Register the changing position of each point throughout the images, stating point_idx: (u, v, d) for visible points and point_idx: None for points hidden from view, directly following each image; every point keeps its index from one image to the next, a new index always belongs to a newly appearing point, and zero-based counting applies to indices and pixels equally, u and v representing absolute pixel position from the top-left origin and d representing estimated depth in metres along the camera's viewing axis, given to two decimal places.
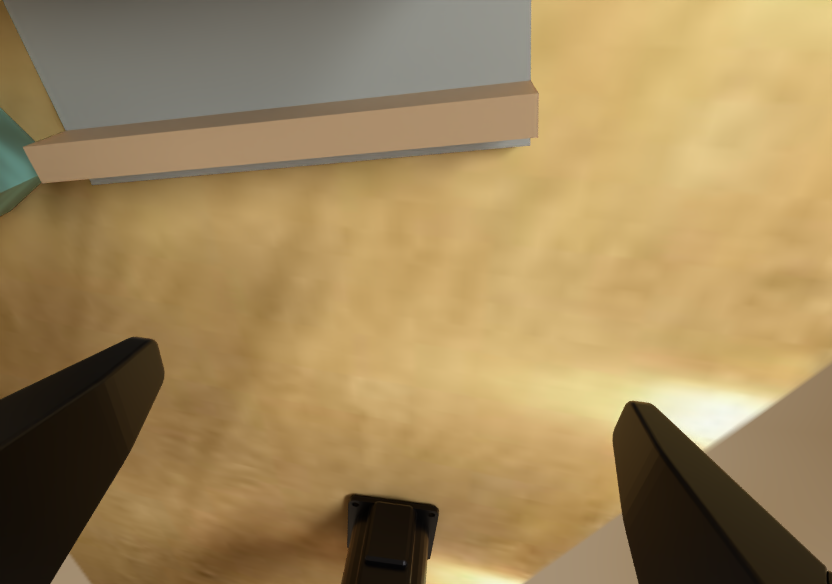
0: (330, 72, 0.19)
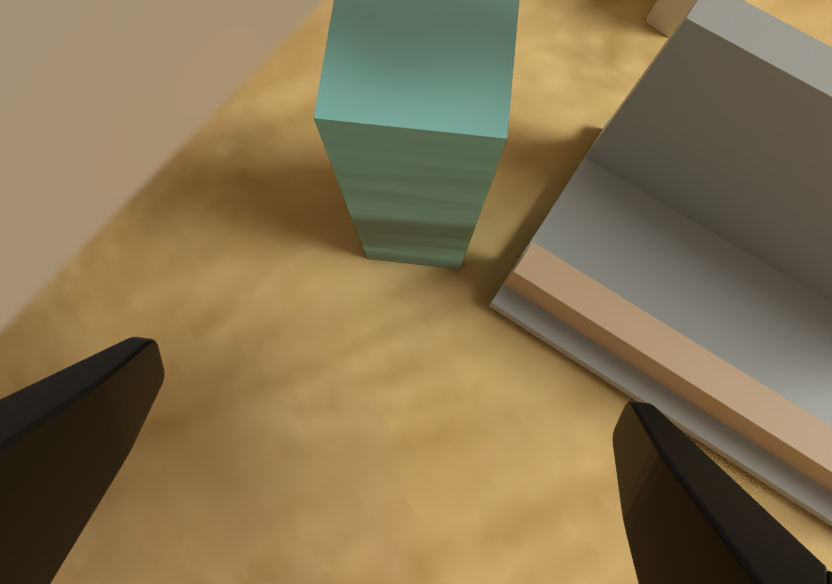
0: (773, 388, 0.21)
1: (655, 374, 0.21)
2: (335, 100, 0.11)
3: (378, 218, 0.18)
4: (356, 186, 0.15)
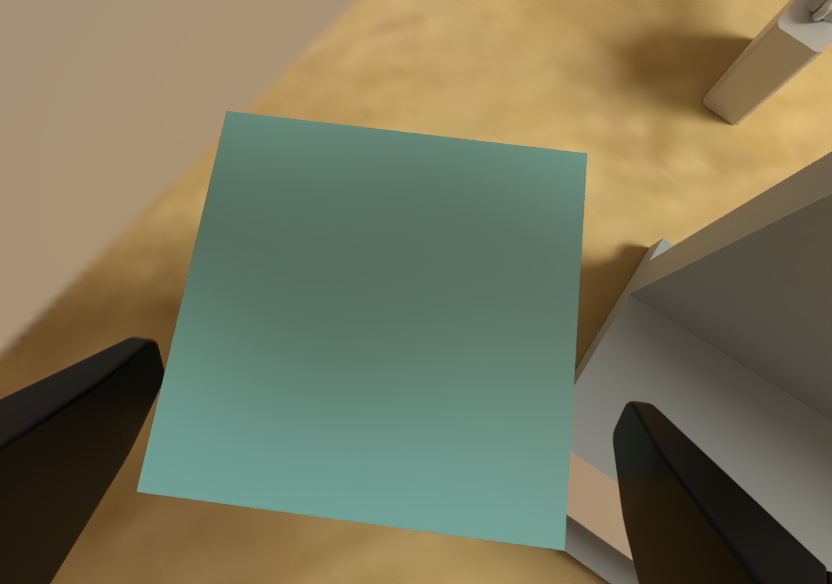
0: None
1: None
2: (187, 447, 0.05)
3: None
4: None
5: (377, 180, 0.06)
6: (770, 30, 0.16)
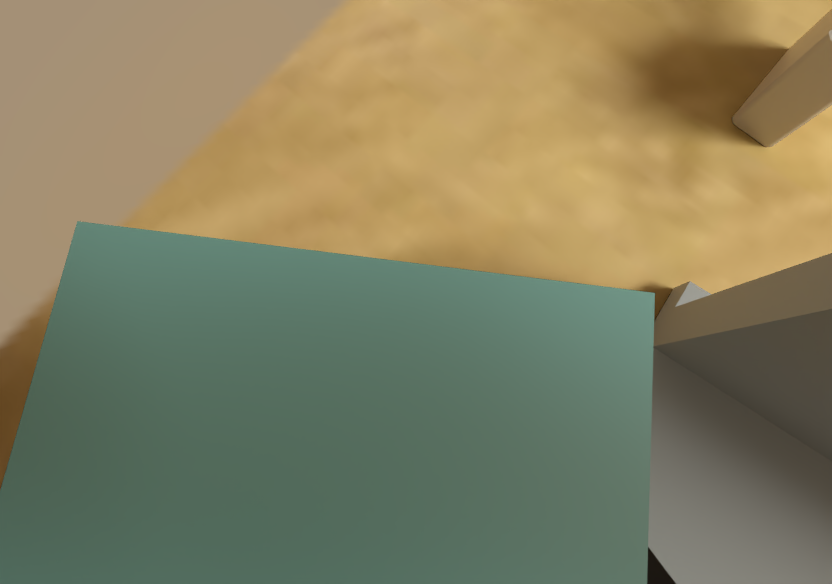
0: None
1: None
2: None
3: None
4: None
5: (313, 339, 0.04)
6: (819, 43, 0.14)
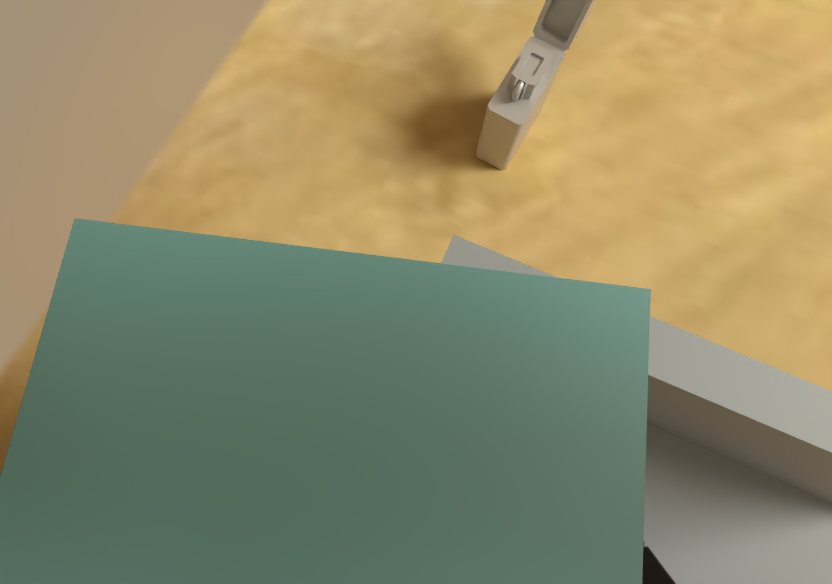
0: None
1: None
2: None
3: None
4: None
5: (310, 336, 0.04)
6: (487, 110, 0.21)
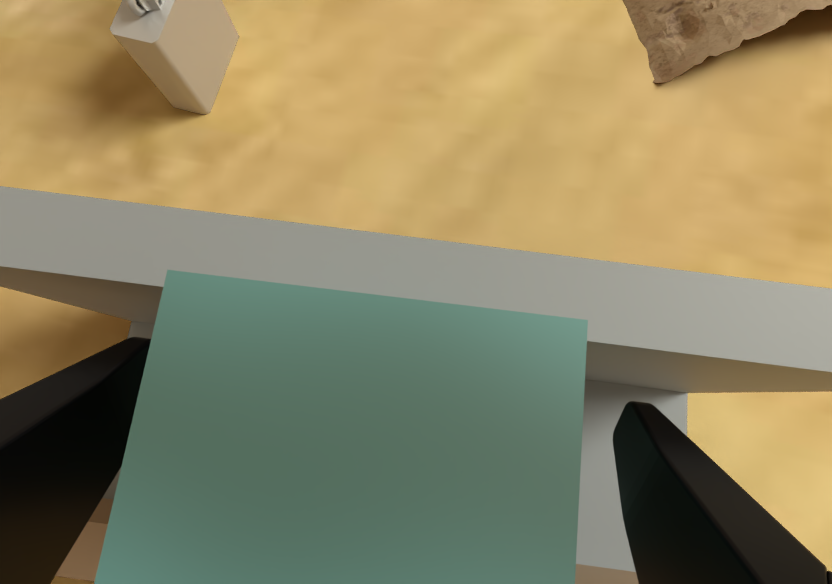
0: None
1: None
2: None
3: None
4: None
5: (342, 355, 0.05)
6: None
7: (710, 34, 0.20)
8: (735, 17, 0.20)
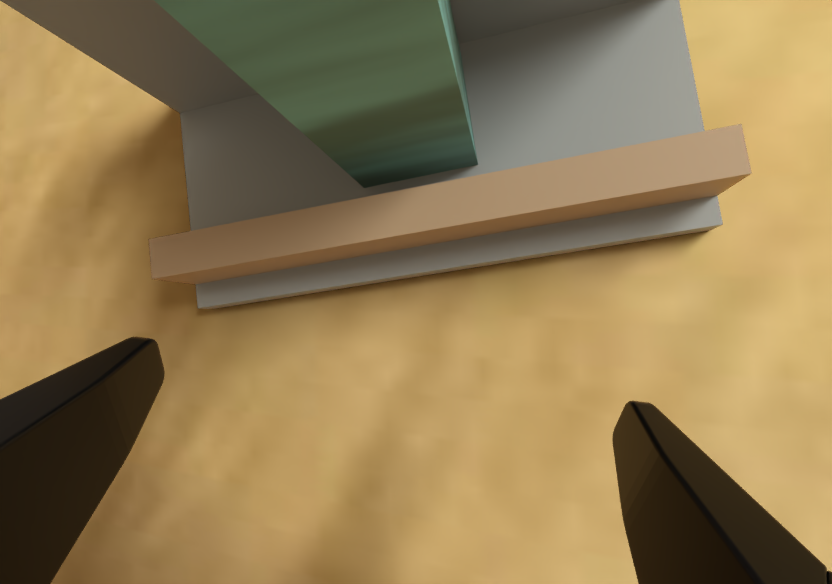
0: (479, 166, 0.18)
1: (355, 252, 0.18)
2: None
3: (331, 118, 0.13)
4: (264, 73, 0.11)
5: None
6: None
7: None
8: None
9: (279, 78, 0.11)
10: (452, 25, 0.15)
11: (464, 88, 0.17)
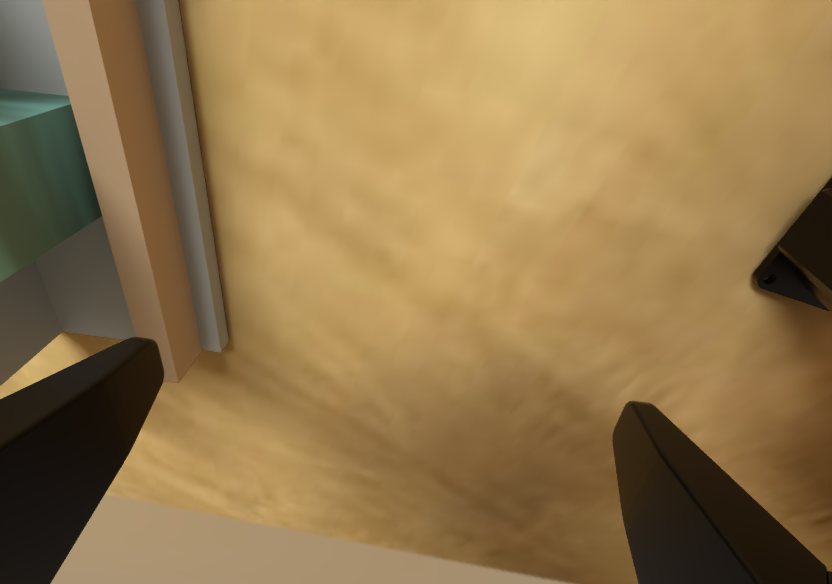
0: None
1: (167, 230, 0.21)
2: None
3: None
4: None
5: None
6: None
7: None
8: None
9: None
10: None
11: None
